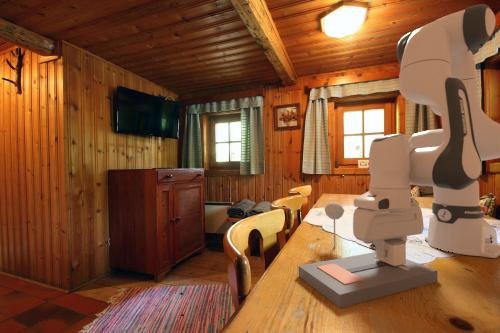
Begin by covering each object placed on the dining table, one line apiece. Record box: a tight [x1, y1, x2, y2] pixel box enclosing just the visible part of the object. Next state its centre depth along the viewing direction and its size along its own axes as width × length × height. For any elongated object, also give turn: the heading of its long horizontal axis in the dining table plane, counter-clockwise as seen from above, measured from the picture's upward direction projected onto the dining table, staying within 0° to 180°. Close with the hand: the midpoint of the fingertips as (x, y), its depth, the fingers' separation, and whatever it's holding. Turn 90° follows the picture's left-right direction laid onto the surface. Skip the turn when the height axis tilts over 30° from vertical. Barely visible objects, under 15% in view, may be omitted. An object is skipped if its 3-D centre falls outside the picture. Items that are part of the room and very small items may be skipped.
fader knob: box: [375, 238, 407, 266], centre depth 58 cm, size 4×5×5 cm
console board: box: [297, 251, 439, 309], centre depth 55 cm, size 28×14×3 cm, turn 111°
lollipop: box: [324, 201, 345, 248], centre depth 78 cm, size 6×6×15 cm
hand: (390, 255), depth 58 cm, fingers closed on fader knob, 4 cm apart
